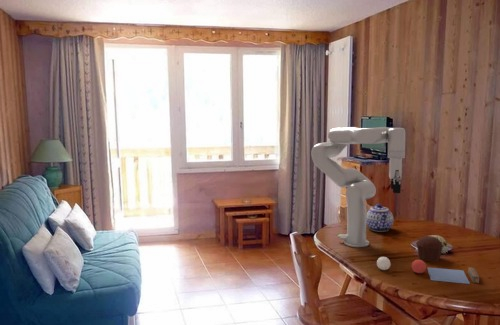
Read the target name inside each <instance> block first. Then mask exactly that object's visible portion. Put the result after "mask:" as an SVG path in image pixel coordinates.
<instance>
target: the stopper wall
mask: <svg viewBox="0 0 500 325" xmlns="http://www.w3.org/2000/svg"><path fill="white" fill-rule="evenodd" d="M467 274H468V276H469V278H470V280H471V281H472V283H474V284H479V283H480V275H479V274H478V273H477V270H476V269H475V267H468V269H467Z"/></svg>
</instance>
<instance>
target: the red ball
mask: <svg viewBox="0 0 500 325" xmlns="http://www.w3.org/2000/svg"><path fill="white" fill-rule="evenodd" d="M411 269H412V271H413V272H415V273H417V274H423V273H424V272H426V270H427V265H426V263H425V262H424V260H422V259H415V260H414V261H412V262H411Z"/></svg>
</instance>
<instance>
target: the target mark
mask: <svg viewBox="0 0 500 325" xmlns="http://www.w3.org/2000/svg"><path fill="white" fill-rule="evenodd" d="M426 270H427V272H428V275H429V278H430V279H429V280H430V281H435V282H445V283H455V284H465V285H470V284H471V282H470V281H469V279H468V277H467V275H466V273H465V271H464V270H461V269H451V268H450V269H449V268H441V267H440V268H438V267H429V266H428V267H427V266H426Z"/></svg>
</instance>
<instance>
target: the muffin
mask: <svg viewBox="0 0 500 325" xmlns="http://www.w3.org/2000/svg"><path fill="white" fill-rule="evenodd" d="M415 243H416V248H417V255H418V258H419V260H422V261H423V262H424V261H425V262H439V261H440V260H441V256H442V253H441V251H442V247H443V245H442V243H441V242H440V241H439V240H438V239H437V238H436V237H433V236H432V235H423V236H422V237H420V238H419V239H418V240H417V241H416V242H415Z"/></svg>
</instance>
